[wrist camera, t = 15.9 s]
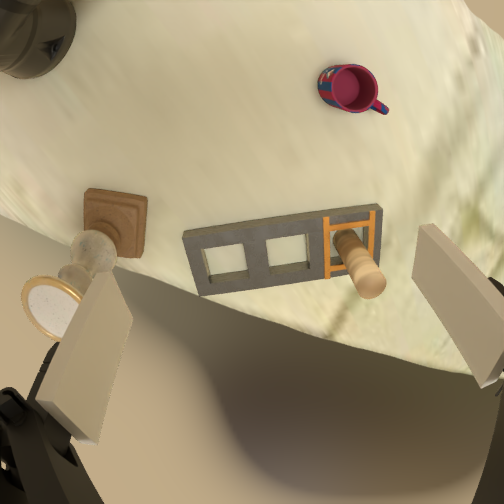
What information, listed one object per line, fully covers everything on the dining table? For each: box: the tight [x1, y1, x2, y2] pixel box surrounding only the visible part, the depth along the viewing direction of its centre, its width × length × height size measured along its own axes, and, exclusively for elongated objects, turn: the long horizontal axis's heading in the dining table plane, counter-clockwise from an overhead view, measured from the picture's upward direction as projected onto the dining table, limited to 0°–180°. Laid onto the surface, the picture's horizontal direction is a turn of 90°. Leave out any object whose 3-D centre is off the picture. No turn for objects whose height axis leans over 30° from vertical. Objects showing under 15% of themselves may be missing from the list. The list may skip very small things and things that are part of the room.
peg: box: [333, 228, 386, 299], centre depth 49 cm, size 4×4×14 cm
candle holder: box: [21, 188, 148, 342], centre depth 41 cm, size 11×11×24 cm
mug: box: [318, 64, 389, 115], centre depth 39 cm, size 7×10×7 cm
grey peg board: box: [182, 204, 383, 297], centre depth 54 cm, size 12×33×3 cm, turn 98°
